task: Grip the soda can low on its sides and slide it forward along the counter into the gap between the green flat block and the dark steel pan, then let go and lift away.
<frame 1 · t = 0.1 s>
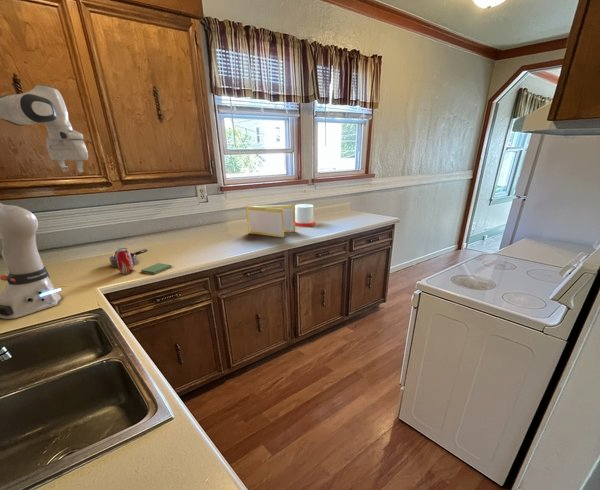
hand: (73, 172, 138), 48 cm above the worktop, tool pointing down, fingers open, 8 cm apart
white yellow panel stand: (272, 235, 236), on the worktop
soda can: (127, 272, 168), on the worktop
container: (304, 224, 267), on the worktop
pan: (124, 264, 180), on the worktop
green flat block: (156, 269, 171), on the worktop
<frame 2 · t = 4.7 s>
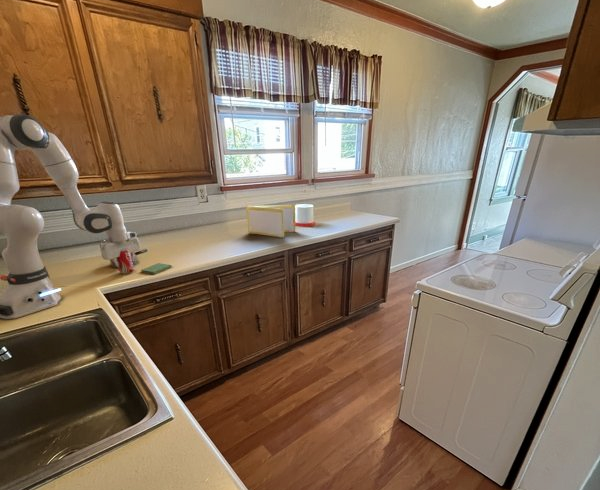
hand: (125, 263, 166), 5 cm above the worktop, tool pointing down, fingers closed on soda can, 7 cm apart
soda can: (127, 272, 168), on the worktop, touching gripper
everything else where it was.
when the fingers open (4 cm above the worktop, at t = 8.7 s): soda can stays where it is, on the worktop.
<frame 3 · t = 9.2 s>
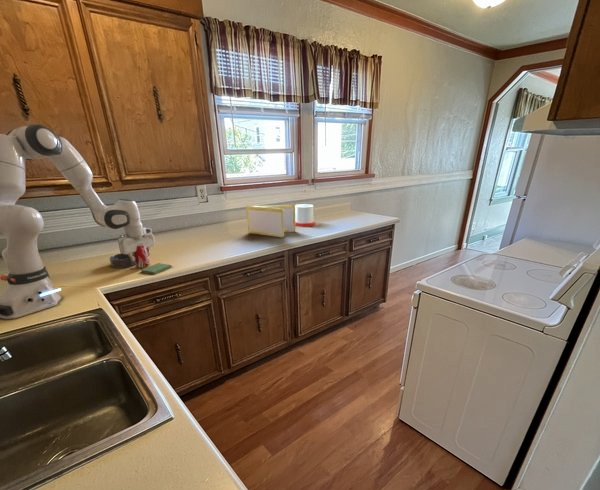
hand: (140, 258, 174), 5 cm above the worktop, tool pointing down, fingers open, 8 cm apart
soda can: (143, 266, 176), on the worktop
everything else where it was.
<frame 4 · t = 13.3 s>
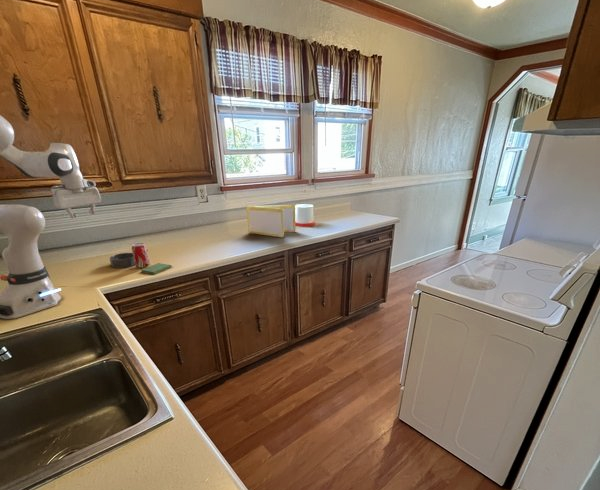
hand: (83, 215, 151), 29 cm above the worktop, tool pointing down, fingers open, 8 cm apart
nothing on the worktop moved.
at the end: soda can inside the target area (0.2 cm from its centre), on the worktop; soda can tilted 0°; the gripper is holding nothing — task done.
